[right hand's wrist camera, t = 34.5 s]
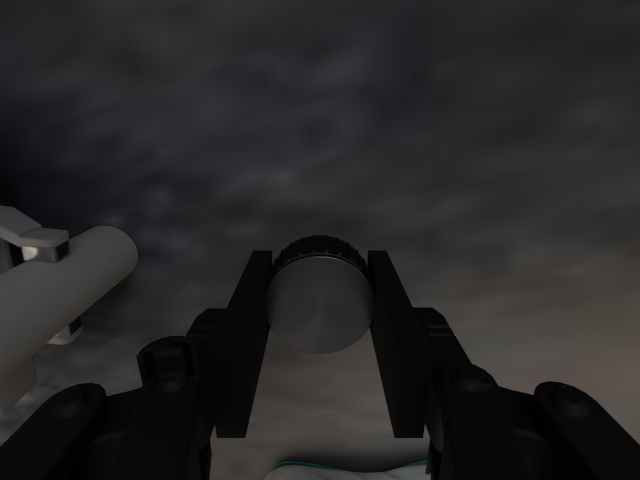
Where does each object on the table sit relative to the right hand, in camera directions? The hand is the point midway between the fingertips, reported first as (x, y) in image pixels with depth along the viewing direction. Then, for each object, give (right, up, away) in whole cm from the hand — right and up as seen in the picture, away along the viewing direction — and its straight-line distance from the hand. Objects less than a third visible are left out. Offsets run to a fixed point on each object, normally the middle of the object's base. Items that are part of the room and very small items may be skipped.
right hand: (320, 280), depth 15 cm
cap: (0, -1, -2) cm, 2 cm away
